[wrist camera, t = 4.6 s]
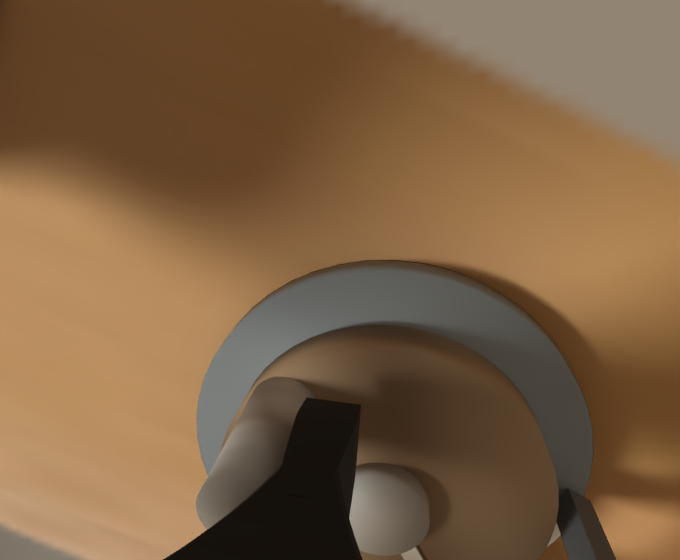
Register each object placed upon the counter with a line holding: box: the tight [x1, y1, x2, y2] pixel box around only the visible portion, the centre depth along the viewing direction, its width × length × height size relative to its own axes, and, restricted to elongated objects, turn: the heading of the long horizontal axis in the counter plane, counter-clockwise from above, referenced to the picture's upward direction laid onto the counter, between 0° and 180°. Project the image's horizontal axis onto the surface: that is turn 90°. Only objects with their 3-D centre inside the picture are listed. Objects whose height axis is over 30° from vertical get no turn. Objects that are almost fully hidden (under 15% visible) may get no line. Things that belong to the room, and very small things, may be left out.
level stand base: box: [197, 260, 616, 560], centre depth 13 cm, size 12×12×6 cm
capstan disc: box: [196, 325, 559, 560], centre depth 12 cm, size 9×9×5 cm
